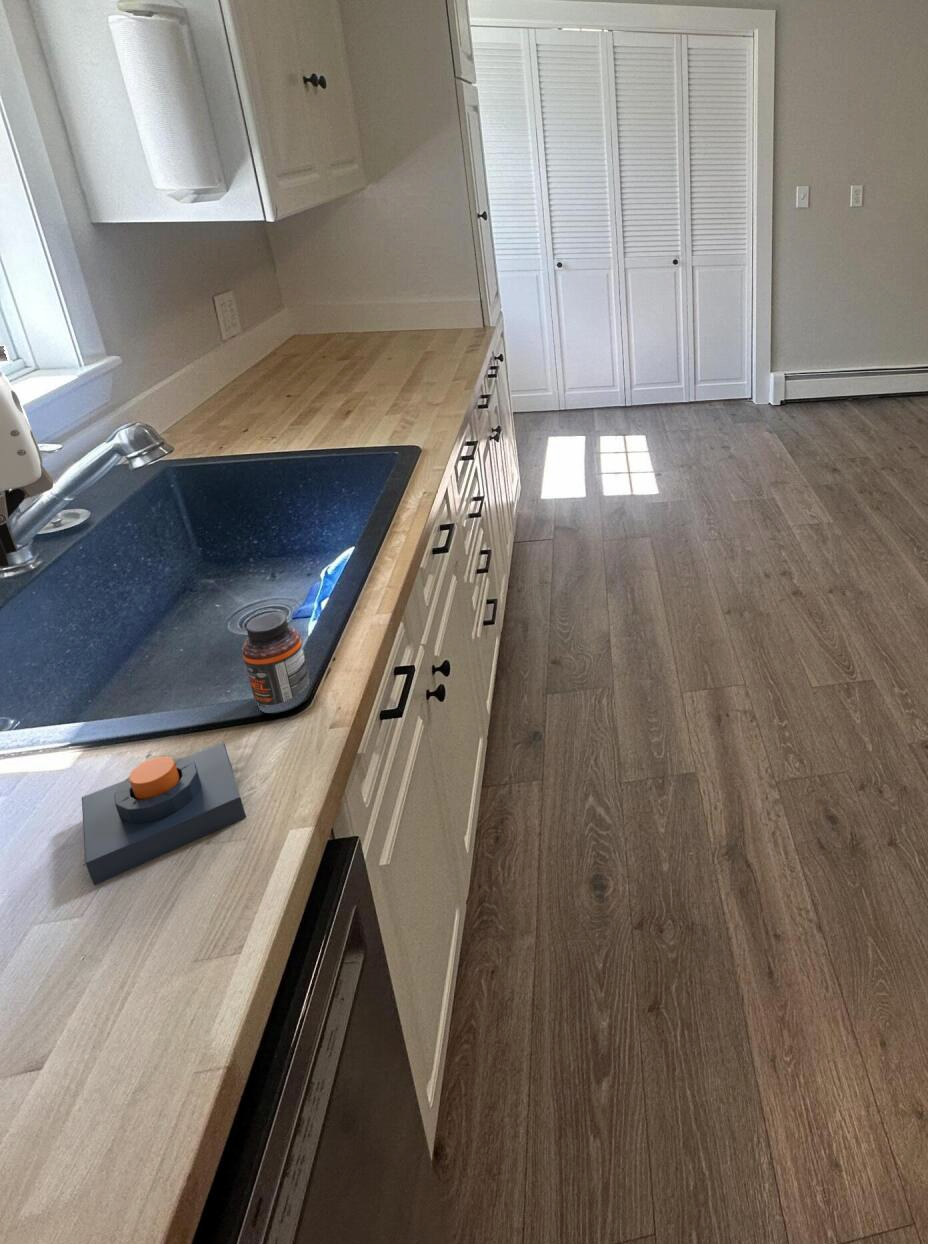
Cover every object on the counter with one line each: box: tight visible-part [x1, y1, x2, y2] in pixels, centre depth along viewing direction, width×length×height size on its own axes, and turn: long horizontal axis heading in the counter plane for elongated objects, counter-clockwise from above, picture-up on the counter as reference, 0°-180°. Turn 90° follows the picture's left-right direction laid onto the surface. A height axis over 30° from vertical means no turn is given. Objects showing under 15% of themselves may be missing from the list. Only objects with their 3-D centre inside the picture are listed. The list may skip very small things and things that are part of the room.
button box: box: [81, 741, 247, 886], centre depth 78 cm, size 12×10×4 cm
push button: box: [128, 755, 179, 800], centre depth 77 cm, size 4×4×2 cm
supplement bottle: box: [241, 611, 311, 707], centre depth 93 cm, size 6×6×11 cm
